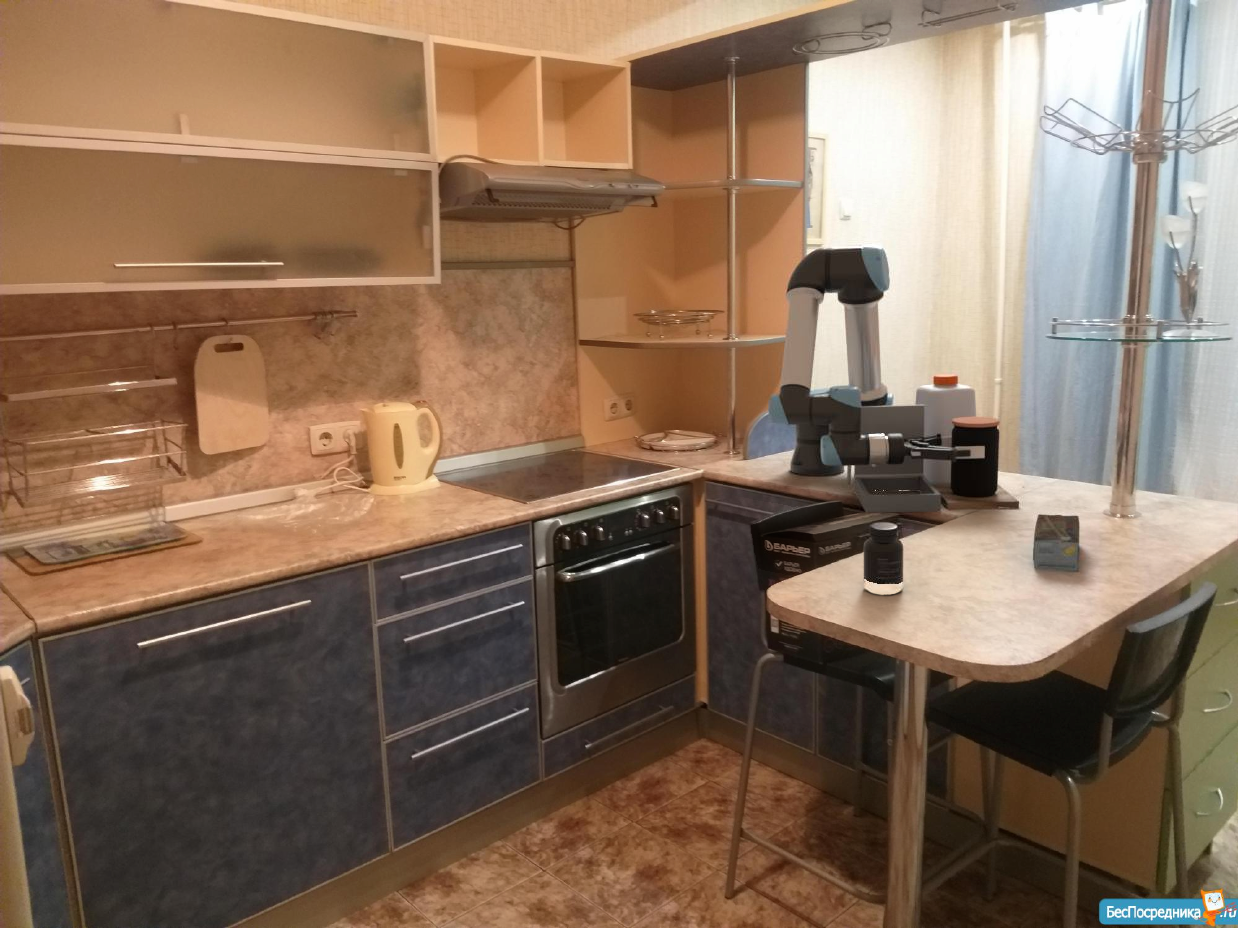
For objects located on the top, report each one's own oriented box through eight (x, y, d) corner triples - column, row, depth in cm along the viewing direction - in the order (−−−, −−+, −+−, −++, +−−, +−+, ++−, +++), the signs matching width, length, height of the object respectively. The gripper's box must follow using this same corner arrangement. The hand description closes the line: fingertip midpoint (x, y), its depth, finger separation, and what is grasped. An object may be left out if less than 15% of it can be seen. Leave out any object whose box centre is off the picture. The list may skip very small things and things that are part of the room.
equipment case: (846, 486, 247) (846, 404, 242) (918, 485, 244) (919, 401, 240) (859, 512, 220) (859, 420, 216) (940, 511, 218) (942, 418, 213)
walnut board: (932, 491, 237) (932, 485, 237) (997, 490, 235) (997, 484, 234) (947, 508, 219) (947, 502, 219) (1018, 507, 217) (1019, 501, 217)
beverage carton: (1031, 569, 175) (1032, 535, 173) (1035, 542, 191) (1036, 511, 190) (1078, 573, 171) (1080, 538, 170) (1078, 545, 188) (1080, 513, 187)
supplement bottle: (858, 585, 170) (858, 521, 168) (894, 582, 171) (895, 519, 168) (871, 597, 164) (871, 531, 161) (909, 594, 164) (909, 528, 162)
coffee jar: (989, 487, 231) (992, 415, 228) (1003, 497, 221) (1005, 422, 217) (945, 488, 232) (947, 417, 229) (956, 498, 222) (958, 424, 218)
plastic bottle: (930, 488, 240) (932, 380, 234) (904, 476, 255) (905, 374, 249) (985, 483, 242) (988, 376, 237) (955, 472, 257) (958, 370, 251)
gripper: (877, 454, 240) (963, 452, 237) (895, 475, 216) (990, 472, 213) (877, 425, 238) (963, 423, 236) (895, 443, 214) (991, 440, 212)
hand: (976, 446), depth 224 cm, fingers open, 13 cm apart
